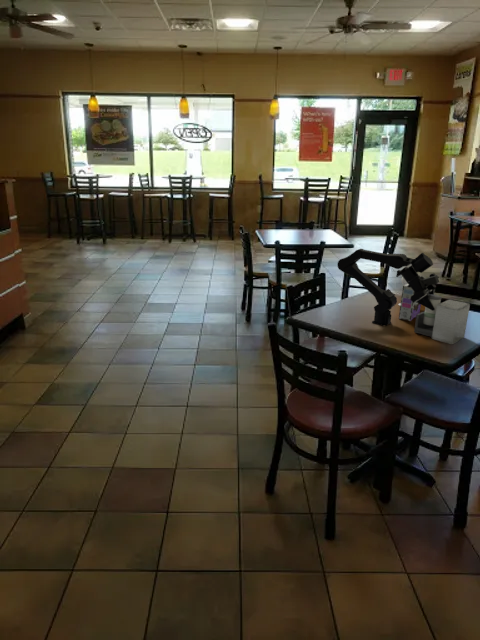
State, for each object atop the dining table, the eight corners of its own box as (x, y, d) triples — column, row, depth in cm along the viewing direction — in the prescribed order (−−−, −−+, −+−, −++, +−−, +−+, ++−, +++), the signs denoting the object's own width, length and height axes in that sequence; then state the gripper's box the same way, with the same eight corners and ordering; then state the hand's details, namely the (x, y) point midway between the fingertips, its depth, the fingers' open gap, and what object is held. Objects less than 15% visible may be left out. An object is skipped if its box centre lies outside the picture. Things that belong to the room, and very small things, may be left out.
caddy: (431, 338, 202) (437, 304, 197) (444, 332, 210) (449, 299, 205) (452, 344, 196) (458, 309, 191) (464, 337, 204) (470, 303, 199)
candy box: (410, 321, 223) (415, 287, 218) (398, 319, 227) (402, 285, 221) (419, 314, 234) (424, 281, 228) (407, 312, 237) (412, 279, 232)
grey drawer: (411, 331, 209) (414, 314, 206) (422, 326, 215) (424, 309, 213) (433, 337, 202) (436, 319, 200) (443, 332, 209) (446, 314, 206)
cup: (422, 324, 205) (427, 297, 201) (422, 320, 211) (426, 293, 207) (437, 326, 204) (442, 298, 200) (436, 322, 209) (441, 295, 205)
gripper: (422, 271, 194) (446, 302, 192) (434, 264, 209) (456, 293, 206) (400, 287, 201) (423, 317, 199) (413, 279, 216) (435, 307, 213)
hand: (435, 308), depth 204 cm, fingers closed on cup, 6 cm apart
